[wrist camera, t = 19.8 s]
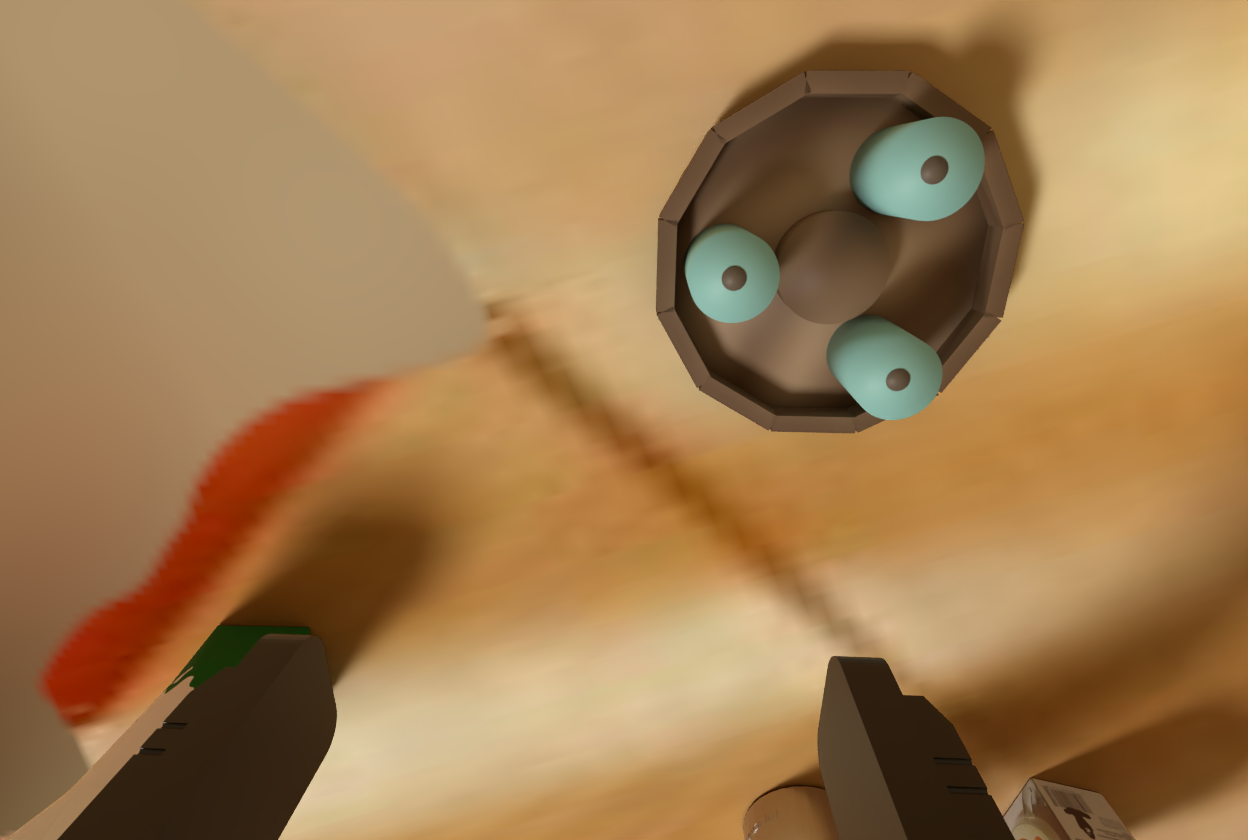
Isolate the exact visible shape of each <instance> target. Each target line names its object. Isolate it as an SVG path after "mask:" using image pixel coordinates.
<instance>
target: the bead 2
mask: <svg viewBox="0 0 1248 840" xmlns="http://www.w3.org/2000/svg"><path fill="white" fill-rule="evenodd" d="M984 165H985V155H984V149H983V145H982V142H981V140H980V138H979V136H978V135H977V133H976V132H975V131H974V130H973V128H971V127H970V126H969V125H968V124H966V123H965V122H963V121H961V120H958V119H956V118H951V117H935V118H930V119H925V120H920V121H915V122H911V123H906V124H901V125H896V126H891V127H887V128H884V129H881V130H879V131H877V132H875V133H874V134H872V135H871V136H870V137H868V138H867V139H866V140H865V141H864V142H863V143H862V145H861V146H860V147H859V148H858V150H857V152H856V154H855V156H854V158H853V160H852V164H851V168H850V185H851V189H852V192H853V194H854V196H855V198H856V200H857V201H858V202H859V203H860V204H861V205H862V206H863V207H864V208H866V209H867V210H869V211H871V212H874V213H877V214H883V215H888V216H894V217H900V218H906V219H912V220H918V221H934V220H939V219H942V218H945V217H947V216H949V215H951V214H953V213H955V212H956V211H958V210H959V209H960V208H962V207H963V206H964V205H965V204H966V203H967V202H968V201H969V200H970V198H971V197H972V196H973V194H974V193H975V191H976V190H977V188H978V186H979V184H980V181H981V179H982V176H983V172H984Z"/></svg>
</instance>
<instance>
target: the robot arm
mask: <svg viewBox="0 0 1248 840" xmlns="http://www.w3.org/2000/svg"><path fill="white" fill-rule="evenodd" d="M336 720H337V710H336V703H335V699H334V694H333V689H332V684H331V679H330V674H329V669H328V664H327V659H326V654H325V649H324V645H323V642H322V640H321V639H320V638H319V637H318V636H315V635H290V634H267V635H265V636H263V637H262V638H261V639H260V640H259V641H258V642H257V643H256V644H255V645H254V646H253V647H252V649H251V650H250V651H249V652H248V653H247V654H246V656H245V657H244V658H243V659H242V660H241V662H240V663H239V664H238V665H237V666H236V667H225V668H224V669H222V670H221V671H219V672H218V673H217V674H215V675H214V676H212V677H211V678H209V679H208V680H206V681H205V682H204V683H202V684H201V685H199V686H198V687H196V688H195V689H193V690H192V691H191V692H189V694H188V695H187V696H186V697H185V698H184V699H183V700H182V701H181V702H180V704H179V705H178V706H177V707H176V708H175V709H174V710H173V711H172V712H171V714H170V715H169V716H168V717H167V718H166V719H165V720H164V721H163V725H162V727H161V728H157V729H156V730H155V731H154V732H153V734H152V735H151V736H150V737H149V738H148V739H147V740H146V741H145V742H144V744H143V745H142V746H141V747H140V751H139V753H138V754H137V755H136V754H134V755H133V756H132V757H131V758H130V759H129V760H128V761H127V762H126V764H125V765H124V766H123V767H122V768H121V769H120V770H119V771H118V772H117V774H116V775H115V776H114V777H113V778H112V779H111V780H110V781H109V782H108V784H107V785H106V786H105V787H104V788H103V789H102V790H101V791H100V793H99V794H98V795H97V796H96V797H95V798H94V799H93V800H92V801H91V803H90V804H89V805H88V806H87V807H86V808H85V809H84V810H83V811H82V813H81V814H80V815H79V816H78V817H77V818H76V819H75V820H74V821H73V823H72V824H71V825H70V826H69V827H68V828H67V829H66V830H65V831H64V833H63V834H62V835H61V836H60V837H59V838H58V839H57V840H278V839H279V837H280V835H281V833H282V832H283V830H284V828H285V826H286V825H287V823H288V821H289V819H290V817H291V816H292V814H293V812H294V810H295V809H296V807H297V805H298V803H299V802H300V800H301V798H302V796H303V795H304V793H305V791H306V789H307V787H308V786H309V784H310V782H311V780H312V779H313V777H314V775H315V773H316V772H317V770H318V768H319V766H320V765H321V763H322V761H323V759H324V757H325V756H326V754H327V752H328V750H329V748H330V745H331V743H332V740H333V736H334V733H335V728H336ZM818 757H819V764H820V770H821V775H822V779H823V782H824V786H825V789H826V790H823V789H820V788H815V787H807V786H796V787H788V788H782V789H779V790H776V791H773V792H770V793H768V794H767V795H765V796H763V797H761V798H760V799H759V800H757V801H756V802H755V803H754V804H753V805H752V806H751V807H750V809H749V810H748V811H747V813H746V816H745V818H744V824H743V830H744V838H745V840H1015V838H1014V836H1013V834H1012V833H1011V831H1010V829H1009V827H1008V825H1007V823H1006V822H1005V820H1004V818H1003V816H1002V814H1001V812H1000V811H999V809H998V807H997V805H996V803H995V801H994V800H993V798H992V796H991V795H988V793H987V787H986V785H985V783H984V781H983V779H982V778H981V776H980V774H979V772H978V770H977V768H976V766H973V765H972V763H971V757H970V755H969V754H968V752H967V750H966V748H965V746H964V744H963V743H962V741H961V739H960V737H959V735H958V733H957V732H956V730H955V728H954V726H953V725H952V724H951V723H950V722H949V721H948V720H947V719H946V718H945V717H944V716H943V715H942V714H941V713H940V712H939V711H938V710H937V709H936V708H935V707H934V706H933V705H932V704H931V703H930V702H929V701H928V700H927V699H926V698H925V697H924V696H909V695H903V694H902V692H901V690H900V688H899V686H898V684H897V682H896V680H895V678H894V676H893V674H892V672H891V669H890V667H889V666H888V664H887V662H886V661H885V660H884V659H882V658H870V657H843V656H833V657H831V659H830V661H829V664H828V669H827V676H826V682H825V688H824V695H823V701H822V708H821V714H820V720H819V727H818Z"/></svg>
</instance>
